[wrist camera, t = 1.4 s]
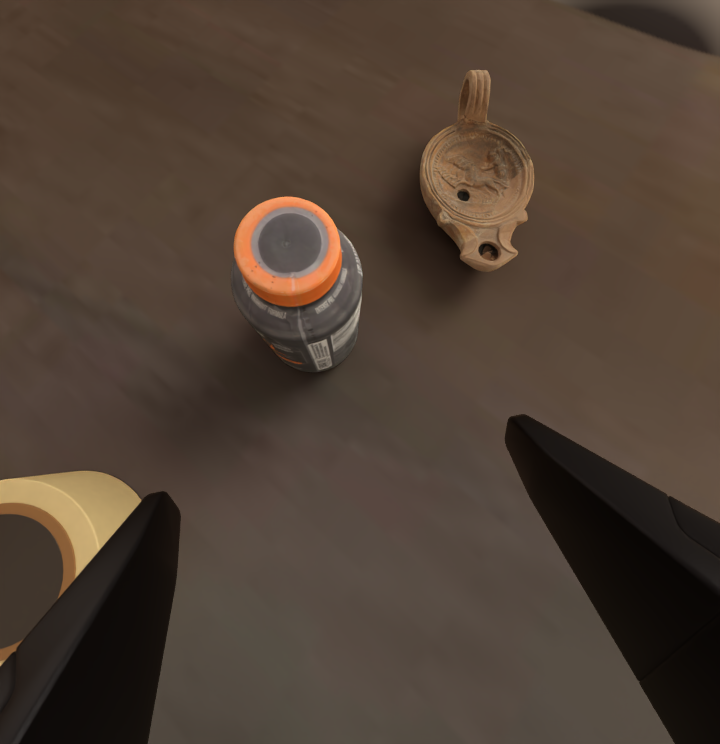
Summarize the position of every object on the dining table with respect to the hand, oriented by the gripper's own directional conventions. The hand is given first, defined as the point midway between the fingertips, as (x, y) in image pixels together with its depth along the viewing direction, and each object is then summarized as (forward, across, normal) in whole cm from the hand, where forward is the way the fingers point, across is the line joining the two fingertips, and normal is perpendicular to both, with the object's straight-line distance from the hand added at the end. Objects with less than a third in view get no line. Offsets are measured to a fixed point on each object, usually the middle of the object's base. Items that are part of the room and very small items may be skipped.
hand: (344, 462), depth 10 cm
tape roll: (+8, +17, +12) cm, 22 cm away
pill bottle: (+16, +1, +5) cm, 16 cm away
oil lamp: (+21, -12, 0) cm, 24 cm away
